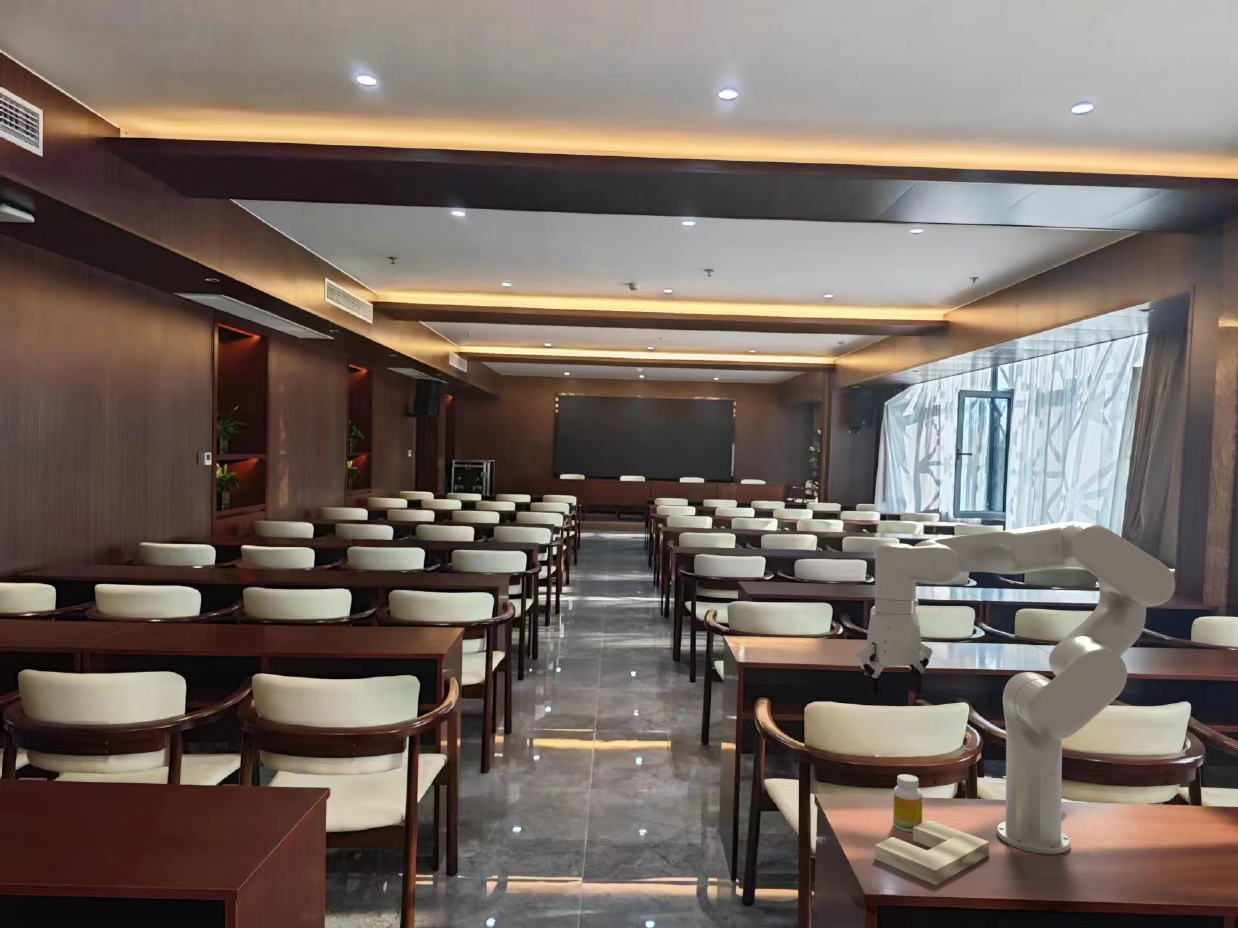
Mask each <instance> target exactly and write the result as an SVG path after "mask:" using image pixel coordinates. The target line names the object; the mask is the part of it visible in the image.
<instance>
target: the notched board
mask: <svg viewBox="0 0 1238 928" xmlns="http://www.w3.org/2000/svg"><path fill="white" fill-rule="evenodd" d="M912 841H914V842H916V843H918V844H921V845H923V846H926V847H928V848H929V849H928V850H927V849H924V848H922V847H919V846H917V845H914V844H911V843H909V842H907V841H904V840H902V839H900V838H897V837H894V836H891V837H889V838H886V839H885V840H883V841H880V842H878V843H877V844H875V845H874V860H877V861H879V862H880V863H881V862H882V863H883V864H886V865H887V866H888V865H889V866H890V867H893V868H895V869H898V870H900V871H902V872H904V873H906V874H909V875H911V876H913V877H916V878H919V879H920V880H923V881H925V882H928V883H930V884H932V885H935V886H937V885H939V884H941V883H942V882H945V881H946V880H948V879H949V878H951V877H954V876H956V874H958V873H960V872H962V871H963V870H965V869H967V868H969V867H971V866H972V865H974V864H976V863H978V862H979V860H980V861H982V860H983V859H985V858H987V857H989V856H990V841H989V840H986V839H983V838H980V837H977V836H975V835H972V834H969V833H966V832H965V831H961V830H958V829H956V828H953V827H950V826H947V825H944V824H941V823H939V822H936V821H933V820H930V819H927V820H925V821H922V823H921V824H919V825H916V826H914V827H913V832H912ZM988 855H989V856H988ZM986 856H987V857H986Z"/></svg>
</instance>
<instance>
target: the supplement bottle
mask: <svg viewBox="0 0 1238 928" xmlns="http://www.w3.org/2000/svg"><path fill="white" fill-rule="evenodd" d="M896 783H897V785H896V786H895V787H894V788H893V800H892V801H893V804H892V805H893V811H892V812H893V814H892V824H893V826H894V827H895V828H896V829H897V830H900V831H902V832H906V833H907V832H908V833H913V827H914V826H916V825H919V824H921V823H923V793H922V790H921V789H920V788H919V787H920V786H919V784H920V783H919V778H918V777H917V776H916V775H912V774H906V773H905V774H898V775H897V780H896Z"/></svg>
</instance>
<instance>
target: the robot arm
mask: <svg viewBox="0 0 1238 928" xmlns="http://www.w3.org/2000/svg"><path fill="white" fill-rule="evenodd" d="M874 559H875V561H874V564H875V565H874V571H875V572H874V573H875V574H874V578H875V579H874V582H875V583H874V584H875V585H874V595H875V596H874V612H872V613H871V615H870V618H869V623H868V629H867V635H866V637H867V639H866V647H865V648H863V649H862V650H861V651H859V652H858V653H857V654H856V656H855V657H856V660H857V662H858V664H859V668H860V669H861V670H862V671H863V672H864V675H866V676H867V678H866V680H867V681H866V682H867V685H866V686H867V695H868V696H869V697H871V698H874V699H877V700H881V697H882V679H881V677H879V676H880V675H881V673H882V672H883V670H884V668H896V667H907V666H908V667H909V670H908V671H907V672H908V673H907V690H908V691H909V692H911V693H913V694H917V695H921V694H922V691H923V690H922V689H923V688H922V687H923V686H922V684H923V682H922V681H923V678H922V677H923V674H924V673H926V672H925V671H926V669H925V668H926V667H927V666H928V665H929V663H930V660H931V656H932V654H933V649H932V648H930V647H928V646H927V645H925V644H923V643H922V635H921V627H920V626H921V624H920V621H919V616H918V614H917V613H916V607H917V608H918V607H919V604H920V602H919V600H918V599H917V598H916V597H917V596H916V591H917V588H916V584H917V583H916V582H917V581H918V582H923V583H924V582H925V583H929V584H937V585H944V584H947V583H950V582H953V581H955V580H956V579H957V578H958V577H959V575H960V574H961V573H974V572H975V573H976V572H977V573H978V572H979V573H982V572H983V573H993V574H1000V575H1019V574H1026V573H1033V572H1039V571H1040V572H1041V571H1046V570H1047V571H1048V570H1056V569H1065V568H1071V567H1072V568H1073V567H1075V568H1076V567H1077V568H1080V569H1084V570H1087V571H1088V572H1089V573H1091V574H1092V575H1094V576H1095V577H1096V578H1097V583H1098V589H1099V598H1098V603H1097V605H1096V607H1095V609H1094V610H1093V611H1092V612H1091V614H1090V615H1089V616H1088V617H1087V618H1086V619H1085V620H1084V621H1082V622H1081V623H1080V624H1079V625H1078V626H1077V627H1076V628H1074V629H1073V630H1072V631H1071V632H1070V633H1069V634H1067V636H1066V637H1064V638H1063V639H1062V640H1060V642H1058V643H1057V644H1056V645H1055V647H1053V648H1052V650H1051V651H1050V653H1049V657H1048V658H1049V659H1048V664H1049V668H1050V670H1051V671H1052V673H1053V675H1055V677H1054V678H1053V679H1050V678H1048V677H1046V676H1044V675H1042V674H1039V673H1036V672H1033V671H1032V672H1031V671H1029V672H1028V671H1026V672H1025V671H1024V672H1020V673H1017V674H1015V675H1014V676H1012V677H1011V678H1010V679H1009V680H1008V681H1007V683H1006V684H1005V687H1004V689H1003V692H1002V693H1003V695H1002V704H1003V714H1004V723H1005V737H1006V739H1005V740H1006V743H1005V744H1006V749H1005V751H1006V754H1005V820H1004V821H1002V822H1000V823H998V825H997V826H996V834H997V836H998V837H999V839H1001V841H1002V842H1004V843H1006V844H1008V845H1010V846H1012V847H1013V848H1017V849H1019V850H1023V851H1025V852H1030V853H1035V854H1037V853H1038V854H1042V855H1043V854H1045V855H1055V854H1056V855H1057V854H1062V853H1065V852H1067V851H1069V849H1070V848H1071V839H1070V837H1069V836H1068V835H1067V834H1066V833H1064V832H1063V831H1062V822H1063V821H1064V820H1066V818H1067V814H1066V811H1064V810H1062V775H1063V774H1062V768H1063V767H1062V763H1063V749H1062V747H1063V746H1062V739H1063V740H1064V739H1067V738H1070V737H1072V736H1073V735H1074V734H1076V733H1077V732H1079V731H1080V730H1081V729H1082V728H1083V727H1085V726H1086V725H1087V724H1088V723H1090V722H1091V721H1092V720H1093V719H1094V718H1096V717H1097V716H1098V715H1099V714H1100V713H1101V712H1103V710H1104V709H1106V708H1107V707H1108V706H1109V705H1111V703H1112V702H1113V701H1114V700H1115V699H1116V698H1118V697H1119V695H1120V694H1121V693H1122V691H1123V690H1124V688H1125V686H1126V683H1127V679H1128V670H1127V665H1126V662H1125V661H1124V659H1123V658H1122V656H1123V655H1124V654H1125V653H1126V652H1128V650H1129V649H1130V648H1131V647H1132V646H1133V645H1134V644H1135V643H1136V642H1137V641H1138V639H1139V638H1140V636H1141V635H1142V632H1143V630H1144V628H1145V624H1146V617H1147V607H1158V606H1161V605H1163V604H1165V603H1166V602H1168V601H1169V600H1170V599H1171V598H1172V597H1173V595H1174V593H1175V590H1176V580H1175V577H1174V575H1173V573H1172V572H1171V570H1170V568H1169V567H1168V566H1166V565H1165V564H1164V563H1163V562H1162V561H1160V560H1159V559H1157V558H1155V557H1154V556H1153V555H1151V554H1149V553H1147V552H1146V551H1144V550H1143V549H1141V548H1139V547H1138V546H1136V545H1134V544H1133V543H1132V542H1130V541H1128V540H1127V539H1125V538H1124V537H1122V536H1120V534H1118V533H1115V532H1114V531H1112V530H1110V529H1109V528H1108V527H1105V526H1102V525H1100V524H1096V523H1090V522H1082V521H1065V522H1057V523H1049V524H1043V525H1037V526H1030V527H1029V526H1028V527H1021V528H1014V529H1006V530H996V531H989V532H983V533H973V534H965V535H955V536H949V537H948V536H947V537H940V538H933V539H927V540H922V541H920V542H917V543H916V544H915V545H914V546H913V545H911V544H907V543H898V542H894V543H893V542H887V543H886V542H885V543H880V544H878V545H877V547H876V548H875V553H874Z"/></svg>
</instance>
